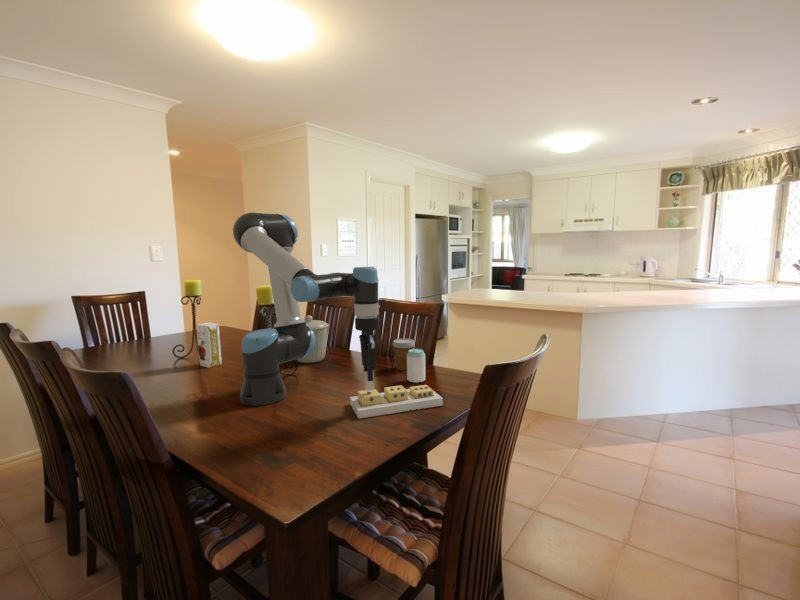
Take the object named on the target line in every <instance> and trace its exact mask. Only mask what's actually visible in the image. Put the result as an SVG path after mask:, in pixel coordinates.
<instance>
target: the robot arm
mask: <svg viewBox="0 0 800 600" xmlns="http://www.w3.org/2000/svg"><path fill="white" fill-rule="evenodd" d="M232 235H233V238H234V241H235V242H236V244H237V245H238V246H239V247H240V248H241V249H242V250H244V251H245V252H247V253H251V254H253V255H254V256H255V257H256V258H258V259H259V260H260V261H261V262H262V263H264V265H265V266H267V269H268V270H267V271H268V275H269V276H268V277H269V282H270V287H271V293H272V300H273V304H274V305H273V306H274V311H275V317H276V322H275V323H274V325H273V328H269V327H268V328H262V329H255V330H253V331H251V332H248V333H246V334H245V335H244V336H243V338H242V341H241V352H242V364H243V374H244V375H243V377H244V378H243V382H242V385H241V389H240V393H239V401H240V403H241V404H243V405H246V406H252V407H253V406H254V407H258V406H265V405H271V404H275V403H277V402H280V401H282V400H284V399H285V398H286V396H287V390H286V386H285V383H284V381H283V379H282V376H281V374H280V365H281V364H284V363H288V362H291V361H295V360H296V359H301V358H303V357H305V356H307V355H309V354H310V353H311V352H312V350H313V349H314V346H315V335H314V332H313V330H312V329H311V328H310V327H309V326H307V325H306V321H305V318H304V319H303V317H301V311H300V306H299V305H300V304H299V303H311V302H316V301H320V300H321V301H322V300H326V299H327V300H328V299H333V298H340V297H347V298H348V297H350V298H351V297H352V298H353V302H354V303H353V307H354V316H355V318H354V325H355V326H354V328H355V330H357V331H360V332H361V334H359V336H358V338H359V342H360V355H361V364H362V367H363V373H364V390H366V391H370V390H374V389H375V372H374V371H376V370H377V368H376V367H377V347H378V342H377V341H376V335H375V334H374V331H376V330H378V329H380V317H379V315H380V314H379V312H380V311H379V309H381V305H379V276H378V270H377V267H375V266H357V267H354V268H353V269H352V273H348V272H330V273H328V274H327V273H326V274H316V273H315V272H313V271H312V270H310V269H309V268H308V267H306V265H304V264H303V263H302V262H301V261H300V260H298V259H297V258H295V256H293V255H292V254H291V253H292V252H293V251H294V245H295V244H296V243H297V240H298V239H297V238H298V237H299V234H298V227H297V225H296V223H295V221H294V220H293V219H292V218H290V217H289V216H288V215H285V214H280V213H262V212H247V213H244V214H242V215H240V216H239V217H238V218H237V219H236V221H234V224H233V228H232Z"/></svg>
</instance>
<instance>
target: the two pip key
mask: <svg viewBox="0 0 800 600" xmlns="http://www.w3.org/2000/svg"><path fill="white" fill-rule="evenodd" d="M383 388H384V390H383V391H384V396H385V399H386V400H387V401H388V402H389V403H392V402H399V401H405V400H408V391H407V390H406V389H407V388H405V387H404V386H403V385H394V386H386V387H385V386H384V387H383Z"/></svg>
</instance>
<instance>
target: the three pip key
mask: <svg viewBox="0 0 800 600" xmlns="http://www.w3.org/2000/svg"><path fill="white" fill-rule="evenodd" d="M409 389H410V394H411V395H412V396H413V397H414V398H415V399H419V398H426V397H433V391H434V389H432V388H431V387H430V386H429V385H427V384H424V385H423V384H422V385H416V386H415V385H414V386H410V387H409Z"/></svg>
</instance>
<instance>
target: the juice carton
mask: <svg viewBox="0 0 800 600" xmlns="http://www.w3.org/2000/svg"><path fill="white" fill-rule="evenodd" d="M196 335H197V336H196V338H197V349H198V360H199V366H201V367H204V368H209V369H210V368H213V367H218V366H222V348H221V336H220V326H219V323H213V322H211V321H209V322H203V323H198V324H196Z"/></svg>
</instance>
